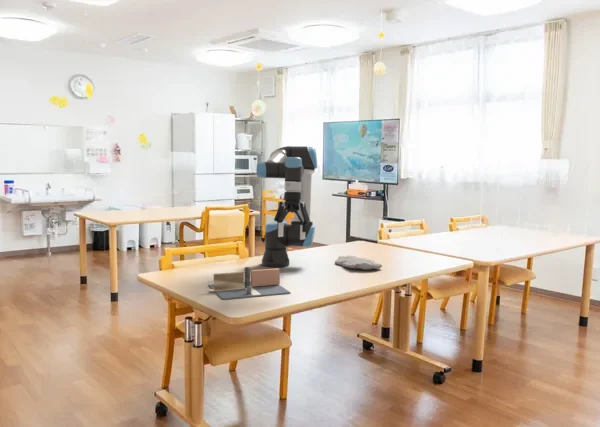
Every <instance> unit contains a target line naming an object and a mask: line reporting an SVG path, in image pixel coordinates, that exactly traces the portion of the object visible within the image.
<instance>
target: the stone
mask: <svg viewBox="0 0 600 427" xmlns="http://www.w3.org/2000/svg"><path fill="white" fill-rule="evenodd" d="M334 263H336V264H337V265H339V266H342V267H345V268H348V269H355V270H356V269H357V270H365V271H368V270H369V271H370V270H379V269H381V268H382V267H383V264H381V263H377V262H376V261H375V260H372V259H368V258H366V257H365V258H364V257H357V256H355V255H345V256H344V255H341V256H340V255H339V256H338V257H337V258H336V260H335V261H334Z"/></svg>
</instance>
